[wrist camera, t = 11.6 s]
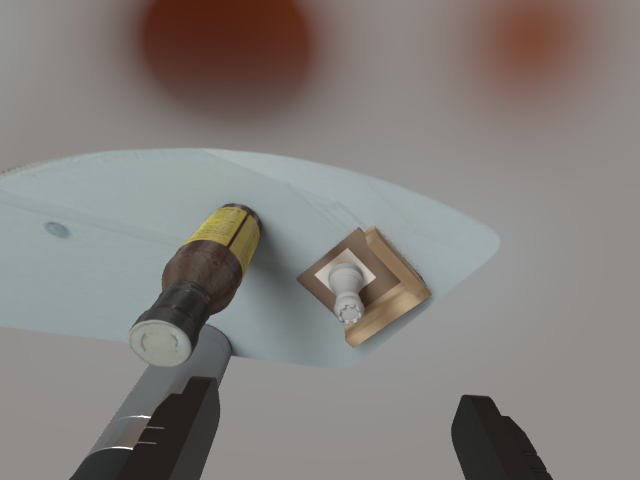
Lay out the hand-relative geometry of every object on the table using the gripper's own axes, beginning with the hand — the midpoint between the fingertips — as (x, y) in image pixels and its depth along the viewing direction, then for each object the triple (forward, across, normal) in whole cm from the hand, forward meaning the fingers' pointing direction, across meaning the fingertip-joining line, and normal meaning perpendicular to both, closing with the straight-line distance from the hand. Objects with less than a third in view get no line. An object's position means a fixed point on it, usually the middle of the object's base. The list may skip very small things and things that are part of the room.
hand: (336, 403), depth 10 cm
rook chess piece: (+27, -2, +11) cm, 29 cm away
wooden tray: (+27, -4, +11) cm, 30 cm away
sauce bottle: (+27, +11, +5) cm, 30 cm away
